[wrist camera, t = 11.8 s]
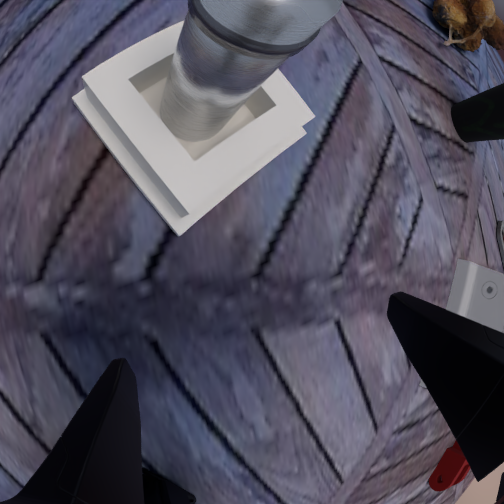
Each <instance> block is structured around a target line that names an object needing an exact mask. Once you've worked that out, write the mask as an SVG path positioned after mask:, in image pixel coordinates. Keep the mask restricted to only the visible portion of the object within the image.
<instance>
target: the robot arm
mask: <svg viewBox="0 0 504 504" xmlns="http://www.w3.org/2000/svg"><path fill="white" fill-rule="evenodd" d="M387 317H388V320H389V322H390V324H391V326H392V327H393V329H394V331H395V333H396V335H397V337H398V339H399V342H400V344H401V346H402V348H403V349H404V351H405V353H406V355H407V356H408V358H409V360H410V361H411V363H412V364H413V366H414V368H415V369H416V371H417V373H418V374H419V376H420V378H421V379H422V381H423V382H424V384H425V386H426V387H427V389H428V391H429V393H430V394H431V396H432V398H433V399H434V401H435V403H436V405H437V406H438V408H439V410H440V412H441V413H442V415H443V417H444V419H445V420H446V422H447V424H448V426H449V428H450V429H451V431H452V433H453V435H454V437H455V439H456V441H457V443H458V445H459V446H460V448H461V450H462V452H463V454H464V456H465V458H466V460H467V462H468V464H469V466H470V468H471V470H472V472H473V474H474V476H475V478H476V480H477V481H478V482H479V481H480V480H482V479H483V478H484V477H486V476H487V475H488V474H489V473H491V472H492V471H493V470H494V469H496V468H497V467H498V466H499V465H501V464H502V463H503V462H504V333H503V332H500V331H498V330H495V329H492V328H490V327H488V326H485V325H482V324H480V323H478V322H475V321H473V320H471V319H468V318H466V317H463V316H461V315H458V314H456V313H454V312H451V311H449V310H446V309H444V308H441V307H439V306H436V305H434V304H431V303H429V302H426V301H424V300H421V299H419V298H416V297H414V296H411V295H409V294H406V293H404V292H397V293H394V294H392V295H391V296H390V298H389V304H388V309H387ZM61 436H62V437H60V438H59V440H58V441H57V443H56V444H55V446H54V447H53V449H52V450H51V452H50V453H49V455H48V456H47V458H46V459H45V460H44V462H43V463H42V464H41V466H40V467H39V468H38V469H37V471H36V472H35V473H34V475H33V476H32V477H31V478H30V480H29V481H28V482H27V484H26V485H25V486H24V488H23V489H22V490H21V491H20V492H19V493H18V494H17V495H16V496H14V497H13V498H11V499H8V500H6V501H2V502H0V504H194V503H195V502H196V498H195V496H194V495H192V494H190V493H188V492H186V490H184V489H182V488H180V487H178V486H176V485H174V484H173V483H171V482H169V481H167V480H165V479H162V478H160V477H158V476H157V475H155V474H153V473H152V472H150V471H148V470H147V469H145V468H142V459H141V421H140V411H139V403H138V393H137V383H136V377H135V374H134V372H133V371H132V369H131V367H130V365H129V364H128V362H127V360H126V359H124V358H120V359H114V360H112V361H111V363H110V364H109V366H108V367H107V369H106V370H105V371H104V373H103V374H102V376H101V377H100V379H99V380H98V381H97V383H96V384H95V386H94V387H93V389H92V390H91V392H90V393H89V394H88V396H87V397H86V399H85V400H84V402H83V403H82V405H81V406H80V408H79V409H78V411H77V412H76V414H75V415H74V417H73V418H72V420H71V421H70V423H69V424H68V426H67V427H66V429H65V430H64V432H63V434H62V435H61ZM142 473H144V474H142ZM190 499H191V500H190ZM495 504H504V472H503V473H502V476H501V481H500V486H499V491H498V495H497V500H496V503H495Z"/></svg>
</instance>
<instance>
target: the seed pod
mask: <svg viewBox="0 0 504 504" xmlns="http://www.w3.org/2000/svg"><path fill="white" fill-rule="evenodd" d="M432 13H433V17H434V18H435V19H436V21H438V22H439V24H440V25H441V26H443V27H445V28H449V39H448V41H445V42H444V45H445V46H446V47H447V46H449V45H450V44H451V43H455V44H456V45H457V46H458V47H460V48H461V49H463V50H465V51H472V52H473V51H474V50H476V49H478V48H479V47H480V45H481V40H482V39H484V40H486V42H487V44H489V45H491V46H492V47H493V48H496V50H500V49H503V50H504V25H503V21H502V20H501V19H499V17H498V16H497V15H496V13H495V6H494V3H493V1H492V0H434V5H433V12H432ZM453 32H454V38H455V40H453V39H452V33H453Z"/></svg>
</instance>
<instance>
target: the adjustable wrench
mask: <svg viewBox="0 0 504 504" xmlns="http://www.w3.org/2000/svg"><path fill="white" fill-rule="evenodd" d="M497 239H498V243H499V248H500V252H501V257H502V262H503V266H504V221H499V222H498V226H497Z"/></svg>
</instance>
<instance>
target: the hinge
mask: <svg viewBox="0 0 504 504" xmlns="http://www.w3.org/2000/svg"><path fill="white" fill-rule="evenodd" d="M446 310H449V311H451V312H454V313H456V314H458V315H461V316H463V317H466V318H468V319H471V320H473V321H475V322H478V323H480V324H482V325H485V326H488V327H490V328H492V329H495V330H498V331H500V332H503V333H504V274H502V273H500V272H497V271H494V270H491V269H489V268H486V267H483V266H480V265H478V264H475V263H473V262H471V261H467V260H462V259H458V261H457V266H456V270H455V275H454V279H453V283H452V287H451V291H450V295H449V299H448V302H447V306H446ZM419 386H421V387H424V388H427V387H426V386H425V384H424V382H423V381H422V379H421V382H420V384H419Z"/></svg>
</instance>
